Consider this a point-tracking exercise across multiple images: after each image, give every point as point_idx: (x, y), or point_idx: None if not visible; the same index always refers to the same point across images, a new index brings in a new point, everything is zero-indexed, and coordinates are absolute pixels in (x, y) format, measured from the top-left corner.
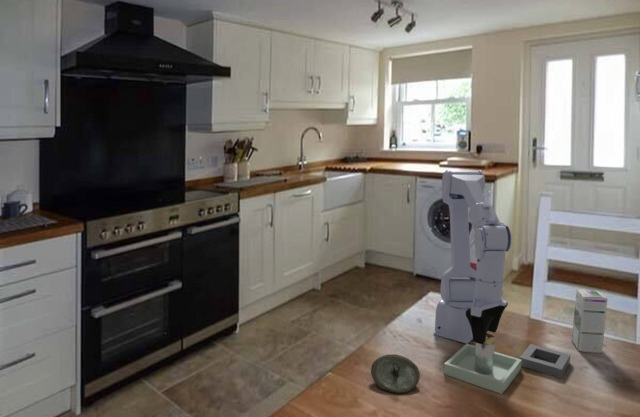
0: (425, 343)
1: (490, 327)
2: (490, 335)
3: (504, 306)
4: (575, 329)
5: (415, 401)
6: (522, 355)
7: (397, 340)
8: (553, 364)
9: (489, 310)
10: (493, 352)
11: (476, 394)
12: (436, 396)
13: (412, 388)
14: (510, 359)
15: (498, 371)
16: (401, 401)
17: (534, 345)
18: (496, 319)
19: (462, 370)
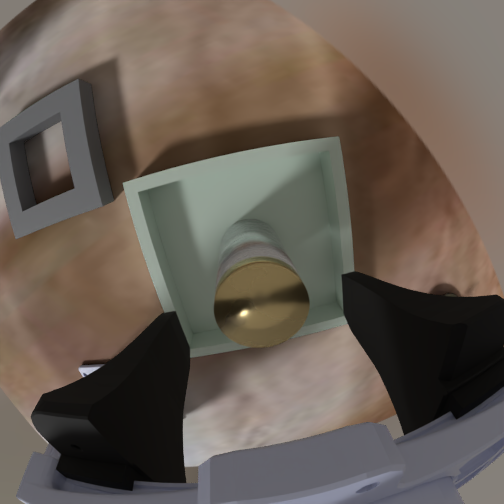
0: (234, 410)
1: (181, 345)
2: (226, 307)
3: (98, 411)
4: None
5: (463, 264)
6: (85, 208)
7: (273, 435)
8: (64, 112)
9: (166, 431)
10: (254, 241)
11: (376, 189)
12: (435, 250)
13: (447, 294)
14: (145, 214)
15: (218, 211)
16: (471, 279)
17: (14, 226)
18: (155, 359)
19: (352, 269)
